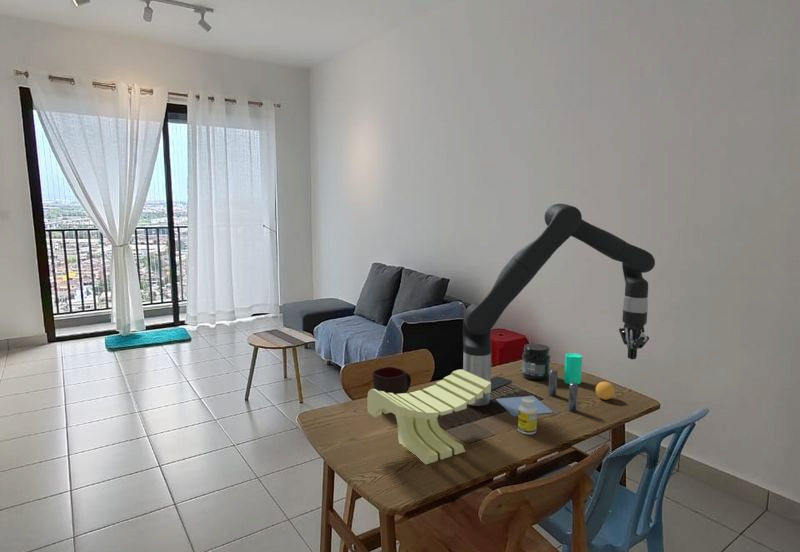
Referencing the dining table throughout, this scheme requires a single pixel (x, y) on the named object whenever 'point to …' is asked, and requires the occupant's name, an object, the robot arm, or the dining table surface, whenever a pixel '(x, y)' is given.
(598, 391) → the ball
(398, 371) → the cup
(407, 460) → the dining table surface
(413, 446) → the slatted curved stool
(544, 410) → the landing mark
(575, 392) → the near post
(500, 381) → the phone
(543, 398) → the dining table surface
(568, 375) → the candle
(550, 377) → the far post
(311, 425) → the dining table surface
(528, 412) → the supplement bottle
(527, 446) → the dining table surface
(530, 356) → the supplement container
